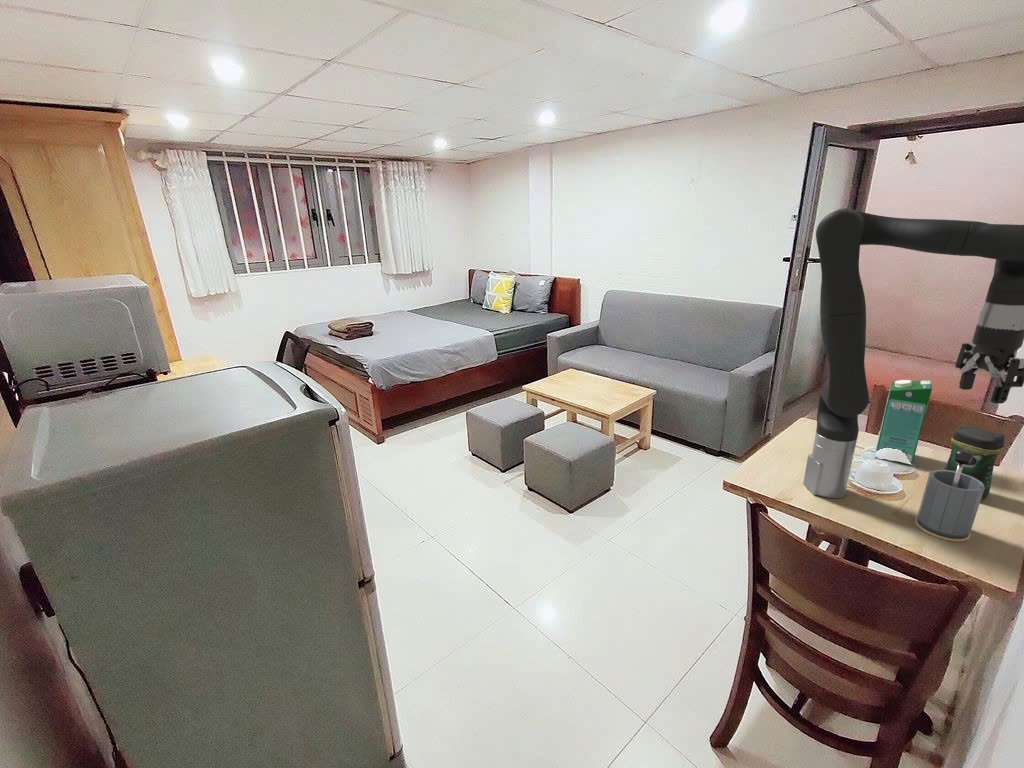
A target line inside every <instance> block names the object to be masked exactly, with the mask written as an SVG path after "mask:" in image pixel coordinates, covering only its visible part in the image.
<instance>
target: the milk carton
mask: <svg viewBox="0 0 1024 768" xmlns="http://www.w3.org/2000/svg"><path fill="white" fill-rule="evenodd" d="M932 382H933V381H932V379H927V380H926V379H925V380H911V379H899V380H896V381H891V383H890V386H889V392H888V396H887V399H886V404H885V408H884V414H883V417H882V422H881V425H880V429H879V434H878V439H877V444H876V447H875V448H876V449H875V452H876V451H878V450H880V449H883V448H892V449H898V450H901V451H902V452H903V453H905V455H906V456H907V459H908V460H909V462H910V463H911V464H912V465H913V463H914V460H915V456H916V455H915V454H916V451H917V448H918V443H919V440H920V436H921V433H922V427H923V424H924V421H925V417H926V413H927V410H928V406H929V402H930V398H931V394H932V391H933V385H932Z"/></svg>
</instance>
